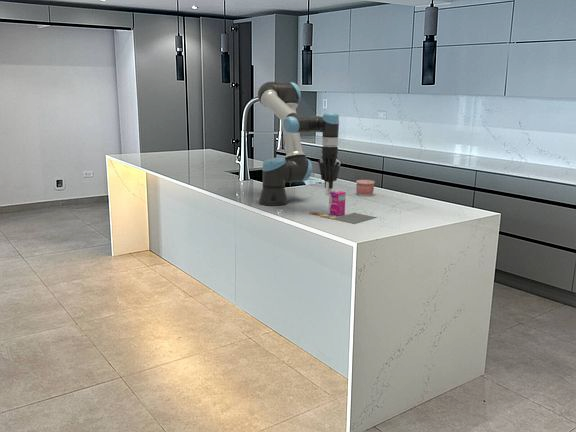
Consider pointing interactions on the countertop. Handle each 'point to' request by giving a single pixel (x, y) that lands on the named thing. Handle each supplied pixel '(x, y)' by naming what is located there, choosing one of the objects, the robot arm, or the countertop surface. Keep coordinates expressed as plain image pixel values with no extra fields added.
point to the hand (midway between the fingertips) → (328, 194)
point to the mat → (354, 218)
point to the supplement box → (337, 203)
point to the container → (365, 187)
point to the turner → (322, 215)
